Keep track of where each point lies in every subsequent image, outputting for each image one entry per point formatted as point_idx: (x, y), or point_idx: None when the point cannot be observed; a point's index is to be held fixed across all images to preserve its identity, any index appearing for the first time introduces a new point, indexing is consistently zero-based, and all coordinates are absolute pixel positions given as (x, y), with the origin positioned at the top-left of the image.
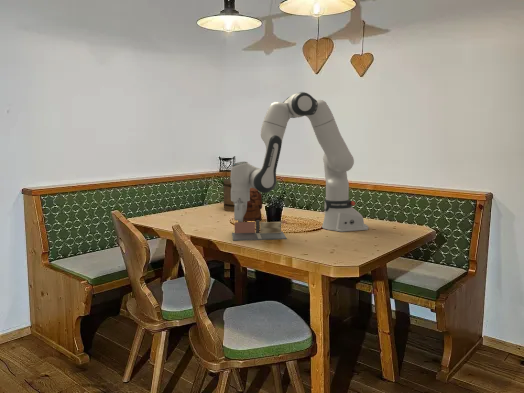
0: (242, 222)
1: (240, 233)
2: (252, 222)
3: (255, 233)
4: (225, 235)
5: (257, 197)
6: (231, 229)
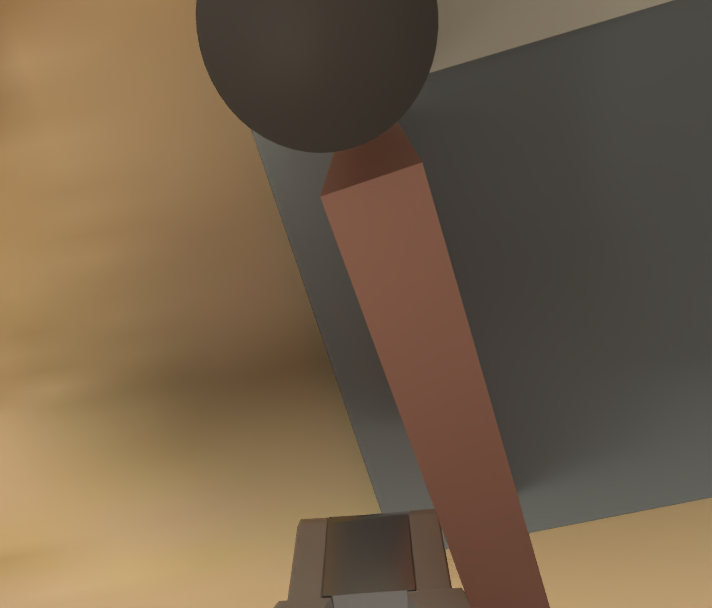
0: (526, 596)
1: None
2: (452, 275)
3: None
4: None
5: None
6: (76, 601)
